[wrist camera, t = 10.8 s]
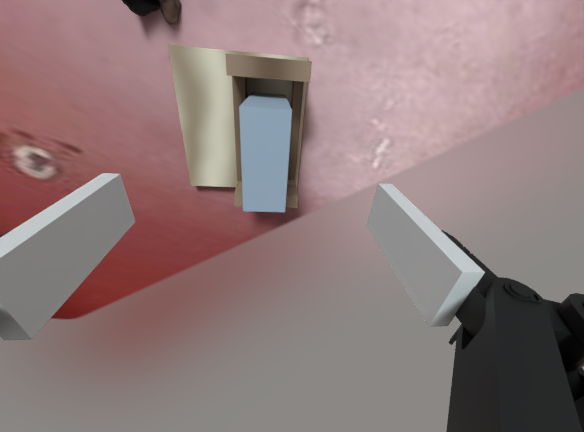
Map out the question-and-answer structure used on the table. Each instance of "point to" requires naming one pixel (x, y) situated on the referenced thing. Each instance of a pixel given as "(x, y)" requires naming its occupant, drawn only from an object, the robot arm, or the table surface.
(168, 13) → the stuffed animal
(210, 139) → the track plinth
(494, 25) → the table surface
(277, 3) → the table surface
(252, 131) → the light blue rectangular block
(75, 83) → the table surface
